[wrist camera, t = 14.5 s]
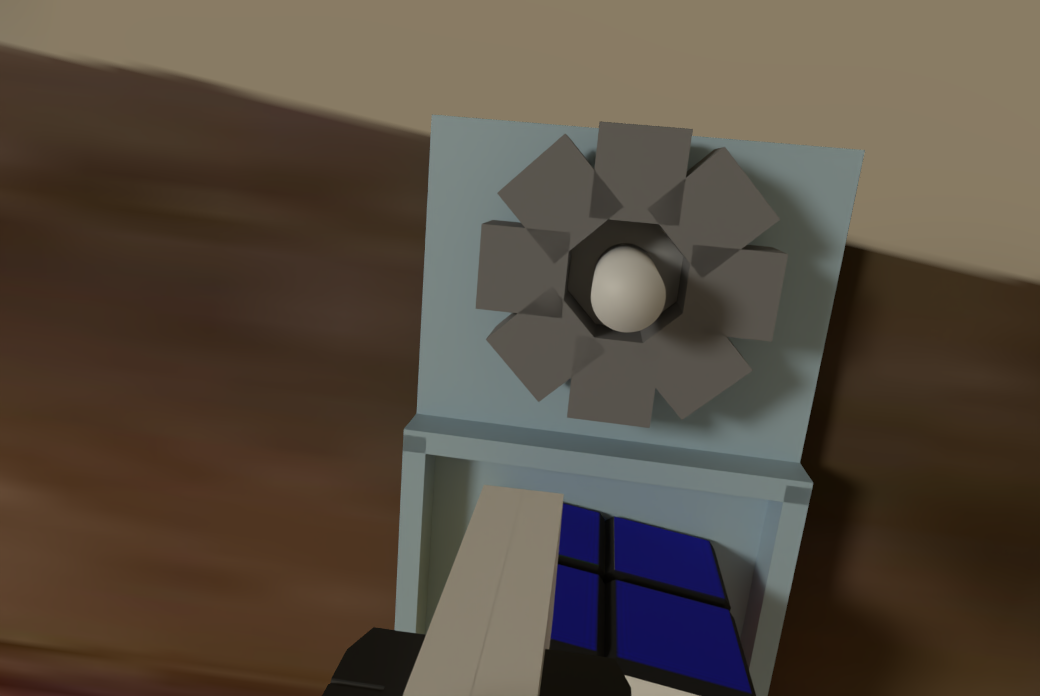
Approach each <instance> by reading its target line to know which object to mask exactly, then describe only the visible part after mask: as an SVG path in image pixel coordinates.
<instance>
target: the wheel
mask: <svg viewBox="0 0 1040 696" xmlns="http://www.w3.org/2000/svg"><path fill="white" fill-rule="evenodd" d="M692 132H693V130H692V129H685V128H671V127H660V126H648V125H636V124H623V123H611V122H600V123H599V132H598V141H597V150H596V159H595V168H593V167H592V165H591V164H590V163H589V162H588V160H587V159H586V158H585V157H584V155H583V154H582V153H581V151H580V150H579V149H578V148H577V146H576V145H575V144H574V143H573V141H572V140H571V139H570V138H569V137H568V136H567V135H566V134H564V135H563V136H562V137H560V138H559V139H558V140H557V141H556V142H555V143H554V144H552V145H551V146H550V147H549V148H548V149H547V150H546V151H544V152H543V153H542V154H541V155H540V156H539V157H538V158H536V159H535V160H534V161H533V162H532V163H531V164H530V165H528V166H527V167H526V168H525V169H524V170H523V171H522V172H520V173H519V174H518V175H517V176H516V177H515V178H514V179H512V180H511V181H510V182H509V183H508V184H507V185H506V186H504V187H503V188H502V189H501V190H500V191H499V192H498V193H497V194H498V195H499V196H500V197H501V199H502V200H503V201H504V202H505V204H506V205H507V206H508V207H509V209H510V210H511V211H512V212H513V213H514V215H515V216H516V217H517V218H518V220H519V221H520V222H511V221H500V220H491V221H488V222H485V223H483V224H482V225H481V239H480V253H479V267H478V281H477V295H476V309H482V310H491V311H500V312H509V313H511V314H510V315H509V316H508V317H507V318H505V319H504V320H503V321H502V322H500V323H499V324H498V325H497V326H496V327H495V328H494V329H493V331H492V332H491V333H490V335H489V336H488V337H487V339H486V340H487V342H488V343H489V344H490V345H491V346H492V348H493V349H494V350H495V351H496V352H497V353H498V355H499V356H500V357H501V358H502V359H503V361H504V362H505V363H506V364H507V365H508V367H509V368H510V369H511V370H512V371H513V372H514V374H515V375H516V376H517V377H518V378H519V380H520V381H521V382H522V383H523V384H524V386H525V387H526V388H527V389H528V390H529V391H530V393H531V394H532V395H533V396H534V397H535V399H536V400H537V401H538V402H540V401H541V400H542V399H544V398H545V397H546V396H548V395H549V394H550V393H552V392H553V391H554V390H556V389H557V388H558V387H560V386H561V385H562V384H563V383H565V382H566V381H567V380H569V379H570V378H571V385H570V394H569V403H568V412H567V418H574V419H582V420H589V421H597V422H605V423H613V424H621V425H629V426H637V427H645V428H650V422H651V415H652V408H653V401H654V394H655V388H656V389H657V390H658V391H659V393H660V394H661V395H662V396H663V398H664V399H665V400H666V401H667V402H668V404H669V405H670V406H671V407H672V409H673V410H674V411H675V412H676V414H677V415H678V416H679V417H680V418H681V420H683V419H684V418H686V417H687V416H689V415H690V414H691V413H693V412H694V411H696V410H697V409H699V408H700V407H701V406H703V405H704V404H706V403H707V402H709V401H710V400H711V399H713V398H714V397H716V396H717V395H719V394H720V393H721V392H723V391H724V390H726V389H727V388H729V387H730V386H732V385H733V384H734V383H736V382H737V381H739V380H740V379H742V378H743V377H744V376H746V375H747V374H749V373H750V372H752V371H753V370H752V369H751V367H750V366H749V365H748V363H747V362H746V360H745V359H744V358H743V356H742V355H741V354H740V352H739V351H738V350H737V349H736V347H735V346H734V345H733V344H732V342H731V341H730V340H729V339H728V337H733V338H742V339H751V340H760V341H769V342H772V339H773V334H774V328H775V323H776V318H777V312H778V307H779V302H780V296H781V291H782V286H783V280H784V275H785V270H786V264H787V259H788V254H787V253H785V252H782V251H780V250H778V249H775V248H773V247H767V246H756V245H747V244H749V243H750V242H751V241H753V240H754V239H755V238H757V237H758V236H759V235H761V234H762V233H763V232H765V231H766V230H767V229H769V228H770V227H771V226H773V225H774V224H775V223H776V222H778V221H779V220H780V218H779V217H778V216H777V214H776V213H775V212H774V211H773V209H772V208H771V207H770V205H769V204H768V203H767V201H766V200H765V199H764V197H763V196H762V195H761V193H760V192H759V191H758V189H757V188H756V187H755V186H754V184H753V183H752V182H751V180H750V179H749V178H748V176H747V175H746V174H745V172H744V171H743V170H742V168H741V167H740V166H739V165H738V163H737V162H736V161H735V159H734V158H733V157H732V155H731V154H730V153H729V151H728V150H727V149H726V147H721V148H718V149H714V150H713V151H712V152H710V153H709V154H708V155H707V156H705V157H704V158H703V159H702V160H700V161H699V162H698V163H697V164H696V165H694V166H693V167H692V168H691V169H689V170H688V171H687V166H688V159H689V152H690V145H691V138H692ZM608 219H610V220H620V221H631V222H641V223H652V224H658V225H659V226H660V227H661V229H662V230H663V231H664V232H665V234H666V235H667V236H668V238H669V239H670V240H671V241H672V243H673V244H674V245H675V246H676V248H677V249H678V250H679V252H680V253H681V254H682V255H683V261H682V268H681V275H680V281H679V288H678V295H677V301H676V302H675V303H674V304H672V305H671V306H670V307H668V308H667V309H666V310H664V311H663V312H662V313H661V314H660V315H659V317H658V318H657V319H656V320H655V322H653V323H652V324H651V325H650V326H648V327H647V328H644V329H642V330H640V331H636V332H619V331H616V330H613V329H611V328H609V327H607V326H606V325H601V324H595V322H594V321H593V320H592V319H591V318H590V316H589V315H588V314H587V313H586V311H585V310H584V309H583V308H582V307H581V305H580V304H579V303H578V302H577V300H576V299H575V298H574V297H573V296H572V294H571V293H570V292H569V291H568V281H569V272H570V262H571V253H572V249H573V248H574V247H575V246H576V245H577V244H579V243H580V242H581V241H582V240H584V239H585V238H586V237H587V236H589V235H590V234H591V233H592V232H593V231H595V230H596V229H597V228H598V227H600V226H601V225H602V224H603V223H604V222H606V221H607V220H608Z"/></svg>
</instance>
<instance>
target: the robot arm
mask: <svg viewBox="0 0 1040 696" xmlns="http://www.w3.org/2000/svg"><path fill="white" fill-rule="evenodd" d="M563 497H564V494H560V493H552V492H543V491H534V490H526V489H517V488H508V487H499V486H491V485H484V486H483V488H482V491H481V494H480V496H479V499H478V501H477V504H476V507H475V509H474V512H473V514H472V517H471V520H470V522H469V525H468V527H467V530H466V533H465V535H464V538H463V540H462V543H461V546H460V548H459V551H458V553H457V556H456V559H455V561H454V564H453V566H452V569H451V571H450V574H449V577H448V579H447V582H446V584H445V587H444V590H443V592H442V595H441V597H440V600H439V603H438V605H437V608H436V610H435V613H434V616H433V618H432V621H431V623H430V626H429V629H428V631H427V634H426V635H425V634H417V633H410V632H403V631H396V630H389V629H382V628H372V629H371V630H370V631H369V632H368V633H366V634H365V635H364V636H363V637H362V638H360V639H359V640H358V641H357V642H356V643H354V644H353V645H352V646H351V647H350V648H348V649H347V651H346V652H345V654H344V656H343V658H342V660H341V662H340V664H339V665H338V667H337V669H336V671H335V673H334V675H333V677H332V680H331V683H330V684H328V686H327V688H326V690H325V691H324V693H323V695H322V696H632V695H631V687H630V685H629V683H628V681H627V679H626V677H625V676H624V674H623V672H622V670H621V668H620V667H619V665H618V663H617V661H616V659H615V658H608V657H601V656H593V655H586V654H579V653H572V652H565V651H557V650H550V649H549V646H550V638H551V629H552V621H553V610H554V598H555V587H556V576H557V565H558V553H559V542H560V531H561V519H562V508H563Z"/></svg>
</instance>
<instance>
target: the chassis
mask: <svg viewBox="0 0 1040 696" xmlns="http://www.w3.org/2000/svg"><path fill="white" fill-rule="evenodd" d="M598 132H599V128H588V127H576V126H563V125H552V124H539V123H528V122H527V123H526V122H515V121H503V120H491V119H479V118H467V117H455V116H442V115H432V123H431V141H430V161H429V181H428V201H427V220H426V240H425V260H424V279H423V299H422V319H421V339H420V358H419V378H418V398H417V414H416V415H415V416H414V417H413V419H412V420H411V421H410V422H409V424H408V425H407V426H406V427H405V428H404V438H403V460H402V482H401V504H400V525H399V547H398V569H397V591H396V613H395V630H396V631H403V632H410V633H417V634H425V635H426V634H427V631H428V629H429V626H430V623H431V621H432V618H433V616H434V613H435V610H436V608H437V605H438V603H439V600H440V597H441V595H442V592H443V590H444V587H445V584H446V582H447V579H448V577H449V574H450V571H451V569H452V566H453V564H454V561H455V559H456V556H457V553H458V551H459V548H460V546H461V543H462V540H463V538H464V535H465V533H466V530H467V527H468V525H469V522H470V520H471V517H472V514H473V512H474V509H475V507H476V504H477V501H478V499H479V496H480V494H481V491H482V488H483V486H484V485H491V486H499V487H508V488H517V489H526V490H534V491H543V492H552V493H560V494H564V497H563V503H565V504H569V505H572V506H576V507H580V508H584V509H588V510H592V511H596V512H600V513H601V515H602V516H603V518H604V519H605V521H606V520H608V519H610V518H611V517H613V516H615V517H619V518H622V519H626V520H630V521H634V522H638V523H642V524H646V525H650V526H654V527H657V528H661V529H665V530H669V531H673V532H677V533H681V534H685V535H688V536H692V537H696V538H700V539H704V540H708V541H710V543H711V544H712V546H713V548H714V550H715V553H716V557H717V560H718V564H719V567H720V571H721V575H722V578H723V582H724V585H725V589H726V592H727V596H728V599H729V603H730V606H731V609H730V613H731V614H732V616H733V617H734V619H735V623H736V626H737V630H738V633H739V637H740V640H741V644H742V647H743V651H744V654H745V658H746V661H747V665H748V669H749V672H750V676H751V679H752V683H753V686H754V690H755V693H756V696H768V692H769V687H770V682H771V678H772V673H773V668H774V664H775V659H776V654H777V650H778V645H779V640H780V636H781V631H782V626H783V622H784V617H785V613H786V608H787V603H788V599H789V594H790V589H791V585H792V580H793V575H794V571H795V566H796V561H797V557H798V552H799V547H800V543H801V538H802V533H803V529H804V524H805V519H806V515H807V510H808V506H809V501H810V496H811V492H812V487H813V482H812V480H811V479H810V477H809V476H808V474H807V473H806V471H805V470H804V468H803V467H802V465H801V464H800V460H801V455H802V451H803V446H804V441H805V436H806V431H807V427H808V422H809V417H810V412H811V407H812V402H813V398H814V393H815V388H816V383H817V378H818V374H819V369H820V364H821V359H822V354H823V350H824V345H825V340H826V335H827V330H828V325H829V321H830V316H831V311H832V306H833V301H834V297H835V292H836V287H837V282H838V277H839V273H840V268H841V263H842V258H843V253H844V248H845V244H846V239H847V234H848V229H849V224H850V219H851V215H852V210H853V205H854V200H855V196H856V191H857V186H858V181H859V176H860V171H861V167H862V161H863V157H864V152H865V150H855V149H843V148H831V147H818V146H806V145H794V144H782V143H770V142H757V141H746V140H733V139H721V138H709V137H698V136H692V138H691V145H690V152H689V159H688V166H687V171H688V170H689V169H691V168H692V167H693V166H694V165H696V164H697V163H698V162H699V161H700V160H702V159H703V158H704V157H705V156H707V155H708V154H709V153H710V152H712V151H713V150H714V149H718V148H721V147H726V149H727V150H728V151H729V153H730V154H731V155H732V157H733V158H734V159H735V161H736V162H737V163H738V165H739V166H740V167H741V168H742V170H743V171H744V172H745V174H746V175H747V176H748V178H749V179H750V180H751V182H752V183H753V184H754V186H755V187H756V188H757V189H758V191H759V192H760V193H761V195H762V196H763V197H764V199H765V200H766V201H767V203H768V204H769V205H770V207H771V208H772V209H773V211H774V212H775V213H776V214H777V216H778V217H779V218H780V220H779V221H778V222H776V223H775V224H774V225H773V226H771V227H770V228H769V229H767V230H766V231H765V232H763V233H762V234H761V235H759V236H758V237H757V238H755V239H754V240H753V241H751V242H750V243H749V244H747V245H756V246H767V247H773V248H775V249H778V250H780V251H782V252H785V253H787V254H788V259H787V264H786V270H785V275H784V280H783V286H782V291H781V296H780V302H779V307H778V312H777V318H776V323H775V328H774V334H773V339H772V342H769V341H760V340H751V339H742V338H733V337H728V339H729V340H730V341H731V342H732V344H733V345H734V346H735V347H736V349H737V350H738V351H739V352H740V354H741V355H742V356H743V358H744V359H745V360H746V362H747V363H748V365H749V366H750V367H751V369H752V370H753V371H752V372H750V373H749V374H747V375H746V376H744V377H743V378H742V379H740V380H739V381H737V382H736V383H734V384H733V385H732V386H730V387H729V388H727V389H726V390H724V391H723V392H721V393H720V394H719V395H717V396H716V397H714V398H713V399H711V400H710V401H709V402H707V403H706V404H704V405H703V406H701V407H700V408H699V409H697V410H696V411H694V412H693V413H691V414H690V415H689V416H687V417H686V418H684V419H683V420H681V418H680V417H679V416H678V415H677V414H676V412H675V411H674V410H673V409H672V407H671V406H670V405H669V404H668V402H667V401H666V400H665V399H664V398H663V396H662V395H661V394H660V393H659V391H658V390H657V389H656V388H655V394H654V401H653V408H652V415H651V422H650V428H645V427H637V426H629V425H621V424H613V423H605V422H597V421H589V420H582V419H574V418H567V412H568V403H569V394H570V385H571V378H570V379H569V380H567V381H566V382H565V383H563V384H562V385H561V386H560V387H558V388H557V389H556V390H554V391H553V392H552V393H550V394H549V395H548V396H546V397H545V398H544V399H542V400H541V401H540V402H538V401H537V400H536V399H535V397H534V396H533V395H532V394H531V393H530V391H529V390H528V389H527V388H526V387H525V386H524V384H523V383H522V382H521V381H520V380H519V378H518V377H517V376H516V375H515V374H514V372H513V371H512V370H511V369H510V368H509V367H508V365H507V364H506V363H505V362H504V361H503V359H502V358H501V357H500V356H499V355H498V353H497V352H496V351H495V350H494V349H493V348H492V346H491V345H490V344H489V343H488V342H487V340H486V339H487V337H488V336H489V335H490V333H491V332H492V331H493V329H494V328H495V327H496V326H497V325H498V324H499V323H500V322H502V321H503V320H504V319H505V318H507V317H508V316H509V315H510V314H511V313H509V312H500V311H491V310H482V309H476V295H477V281H478V267H479V253H480V239H481V225H482V224H483V223H485V222H488V221H491V220H500V221H511V222H520V221H519V220H518V218H517V217H516V216H515V215H514V213H513V212H512V211H511V210H510V209H509V207H508V206H507V205H506V204H505V202H504V201H503V200H502V199H501V197H500V196H499V195H498V194H497V193H498V192H499V191H500V190H501V189H502V188H503V187H504V186H506V185H507V184H508V183H509V182H510V181H511V180H512V179H514V178H515V177H516V176H517V175H518V174H519V173H520V172H522V171H523V170H524V169H525V168H526V167H527V166H528V165H530V164H531V163H532V162H533V161H534V160H535V159H536V158H538V157H539V156H540V155H541V154H542V153H543V152H544V151H546V150H547V149H548V148H549V147H550V146H551V145H552V144H554V143H555V142H556V141H557V140H558V139H559V138H560V137H562V136H563V135H564V134H566V135H567V136H568V137H569V138H570V139H571V140H572V141H573V143H574V144H575V145H576V146H577V148H578V149H579V150H580V151H581V153H582V154H583V155H584V157H585V158H586V159H587V160H588V162H589V163H590V164H591V165H592V167H593V168H595V159H596V150H597V141H598ZM682 261H683V255H682V254H681V253H680V252H679V250H678V249H677V248H676V246H675V245H674V244H673V243H672V241H671V240H670V239H669V238H668V236H667V235H666V234H665V232H664V231H663V230H662V229H661V227H660V226H659V225H658V224H652V223H641V222H631V221H620V220H610V219H608V220H607V221H606V222H604V223H603V224H602V225H601V226H600V227H598V228H597V229H596V230H595V231H593V232H592V233H591V234H590V235H589V236H587V237H586V238H585V239H584V240H582V241H581V242H580V243H579V244H577V245H576V246H575V247H574V248H573V249H572V253H571V262H570V272H569V281H568V291H569V292H570V293H571V294H572V296H573V297H574V298H575V299H576V300H577V302H578V303H579V304H580V305H581V307H582V308H583V309H584V310H585V311H586V313H587V314H588V315H589V316H590V318H591V319H592V320H593V321H594V322H595V324H601V325H606V326H607V327H609V328H611V329H613V330H616V331H619V332H636V331H640V330H642V329H644V328H647V327H648V326H650V325H651V324H652V323H653V322H655V320H656V319H657V318H658V317H659V315H660V314H661V313H662V312H663V311H664V310H666V309H667V308H668V307H670V306H671V305H672V304H674V303H675V302H676V301H677V295H678V288H679V281H680V275H681V268H682Z"/></svg>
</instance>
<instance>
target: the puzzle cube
mask: <svg viewBox="0 0 1040 696" xmlns="http://www.w3.org/2000/svg"><path fill="white" fill-rule="evenodd" d="M730 609H731V606H730V603H729V599H728V596H727V592H726V589H725V585H724V582H723V578H722V575H721V571H720V567H719V564H718V560H717V557H716V553H715V550H714V548H713V546H712V544H711V543H710V541H708V540H704V539H700V538H696V537H692V536H688V535H685V534H681V533H677V532H673V531H669V530H665V529H661V528H657V527H654V526H650V525H646V524H642V523H638V522H634V521H630V520H626V519H622V518H619V517H615V516H613V517H611V518H610V519H608V520H606V521H605V519H604V518H603V516H602V515H601V513H600V512H596V511H592V510H588V509H584V508H580V507H576V506H572V505H569V504H565V503H563V508H562V519H561V531H560V542H559V553H558V565H557V576H556V587H555V598H554V610H553V621H552V629H551V638H550V646H549V649H550V650H557V651H565V652H572V653H579V654H586V655H593V656H601V657H608V658H615V659H616V661H617V663H618V665H619V667H620V668H621V670H622V672H623V674H624V676H625V677H626V679H627V681H628V683H629V685H630V687H631V695H632V696H756V693H755V690H754V686H753V683H752V679H751V676H750V672H749V669H748V665H747V661H746V658H745V654H744V651H743V647H742V644H741V640H740V637H739V633H738V630H737V626H736V623H735V619H734V617H733V616H732V614H731V613H730Z"/></svg>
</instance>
